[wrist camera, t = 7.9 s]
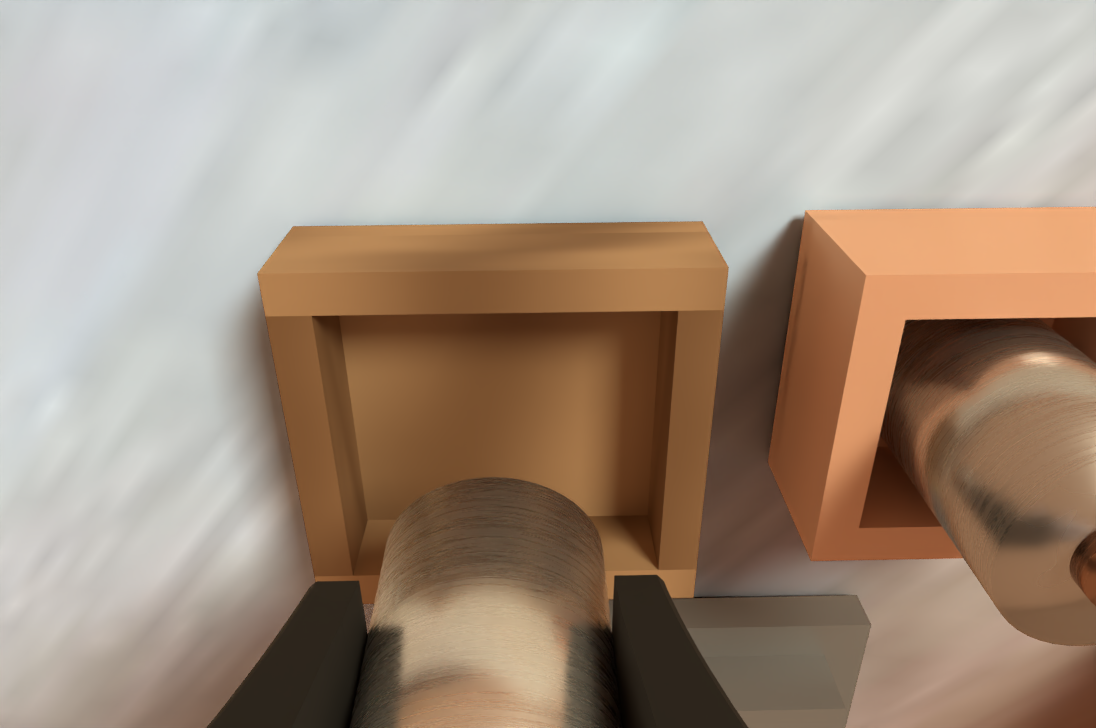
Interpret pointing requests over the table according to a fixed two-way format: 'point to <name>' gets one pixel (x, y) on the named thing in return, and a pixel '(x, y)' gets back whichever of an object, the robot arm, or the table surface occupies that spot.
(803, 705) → the cradle
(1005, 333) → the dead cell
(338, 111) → the table surface
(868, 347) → the orange square box
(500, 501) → the cell
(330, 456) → the brown square tray
